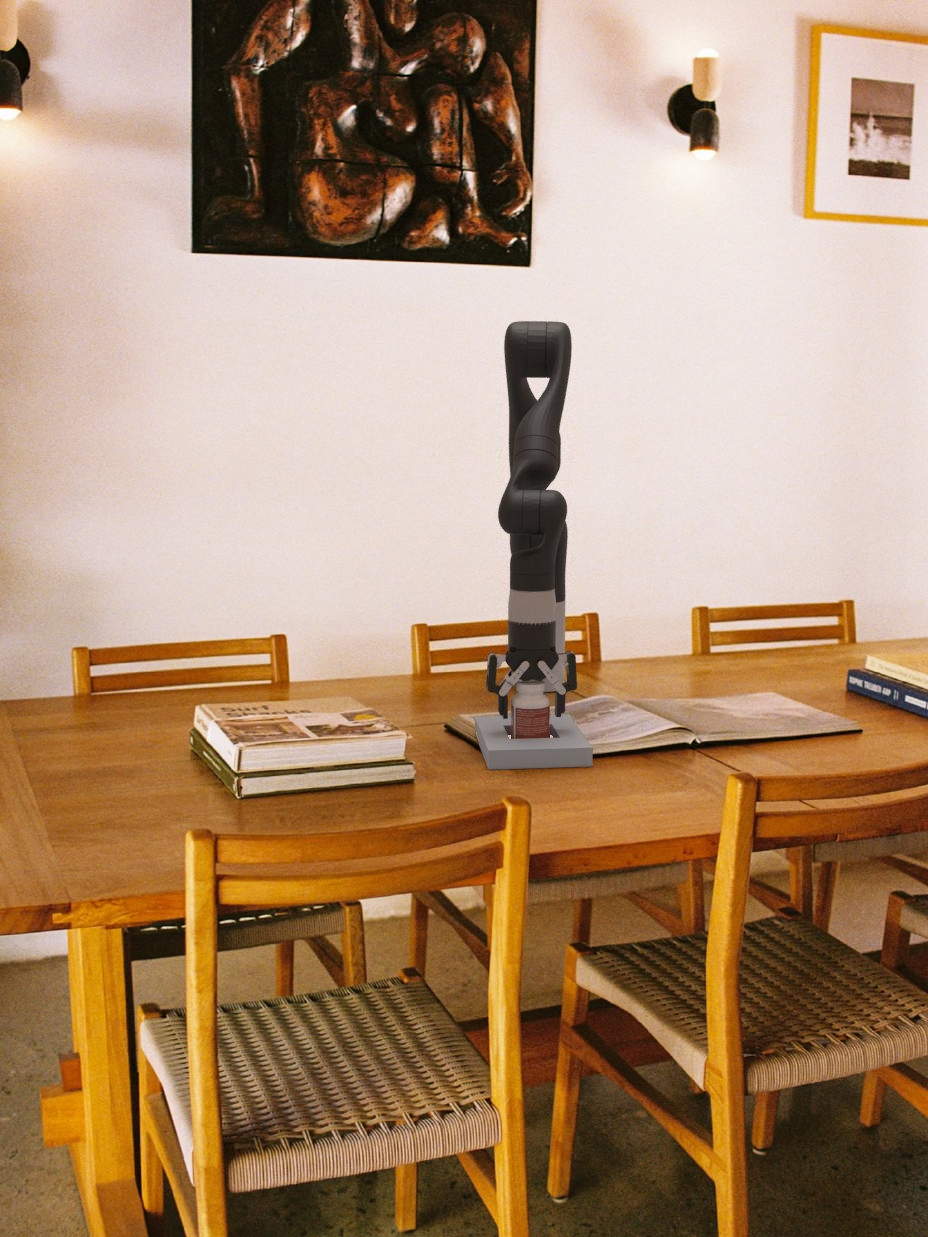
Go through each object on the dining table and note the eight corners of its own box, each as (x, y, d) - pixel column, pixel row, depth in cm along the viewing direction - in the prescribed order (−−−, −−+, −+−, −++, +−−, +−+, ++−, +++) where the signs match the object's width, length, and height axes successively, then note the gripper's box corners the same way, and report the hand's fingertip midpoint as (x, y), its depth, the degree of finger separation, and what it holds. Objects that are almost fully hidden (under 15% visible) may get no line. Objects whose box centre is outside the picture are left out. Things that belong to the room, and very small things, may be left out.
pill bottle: (557, 751, 200) (558, 683, 198) (526, 757, 196) (526, 688, 194) (534, 742, 205) (534, 676, 203) (503, 748, 201) (503, 680, 200)
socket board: (475, 734, 210) (475, 716, 209) (569, 731, 211) (569, 714, 210) (488, 769, 190) (488, 750, 189) (592, 766, 191) (592, 747, 191)
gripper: (572, 611, 201) (571, 709, 204) (484, 613, 200) (484, 712, 203) (581, 620, 194) (579, 722, 197) (489, 622, 192) (489, 724, 195)
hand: (531, 716), depth 200 cm, fingers open, 8 cm apart
